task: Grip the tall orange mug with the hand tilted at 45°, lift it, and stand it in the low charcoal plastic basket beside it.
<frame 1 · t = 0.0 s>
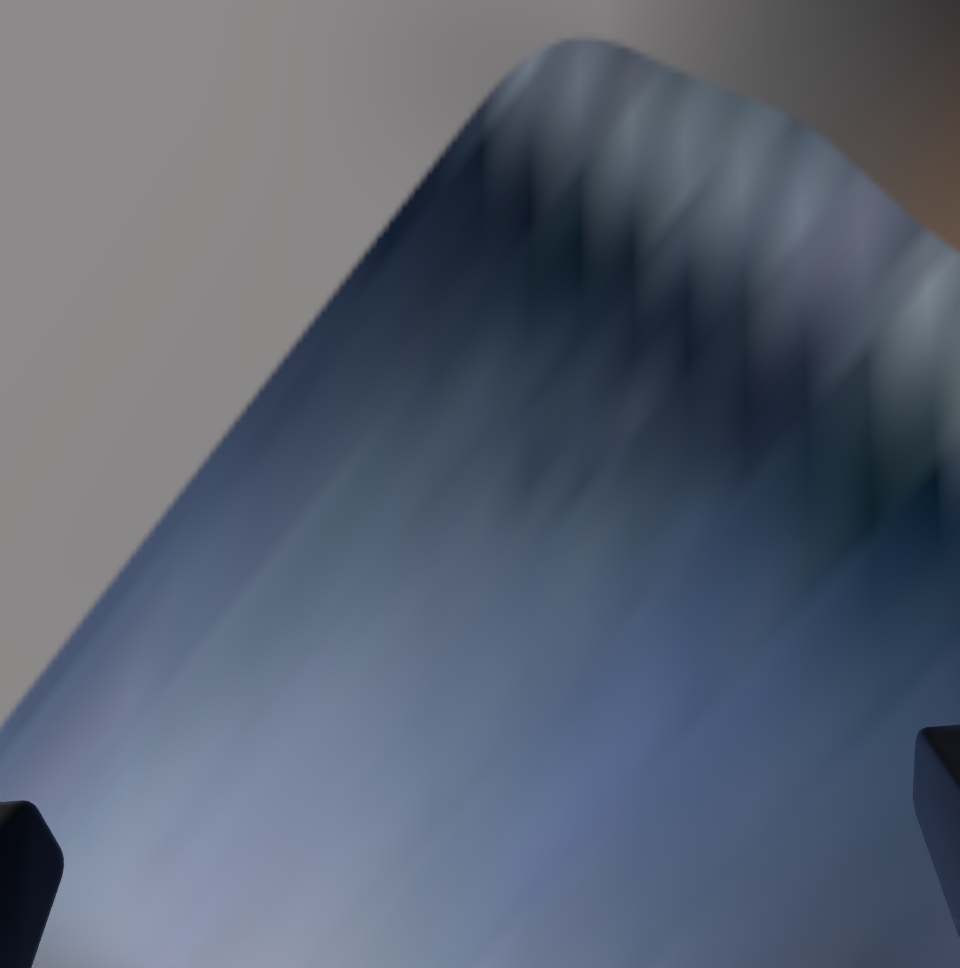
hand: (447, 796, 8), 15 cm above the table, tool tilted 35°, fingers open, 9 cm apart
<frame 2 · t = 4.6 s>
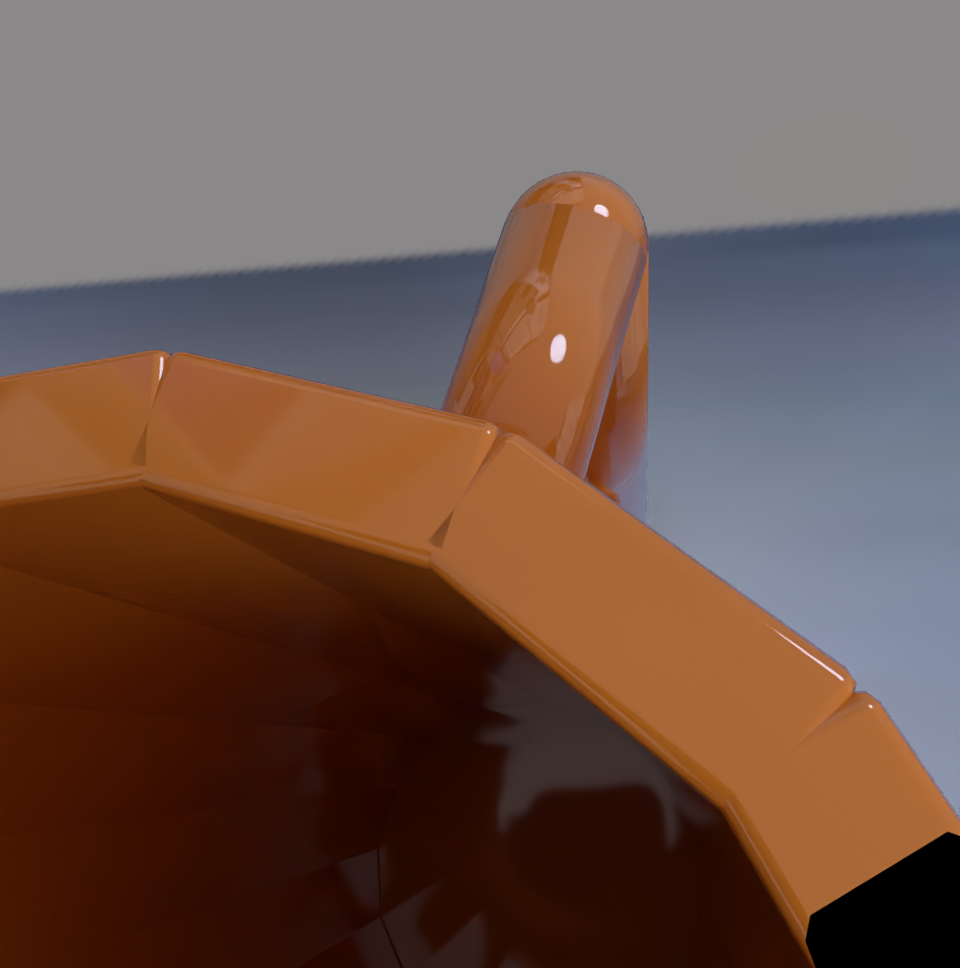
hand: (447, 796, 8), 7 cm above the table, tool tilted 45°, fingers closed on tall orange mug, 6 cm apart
tall orange mug: (538, 866, 14), on the table, touching gripper
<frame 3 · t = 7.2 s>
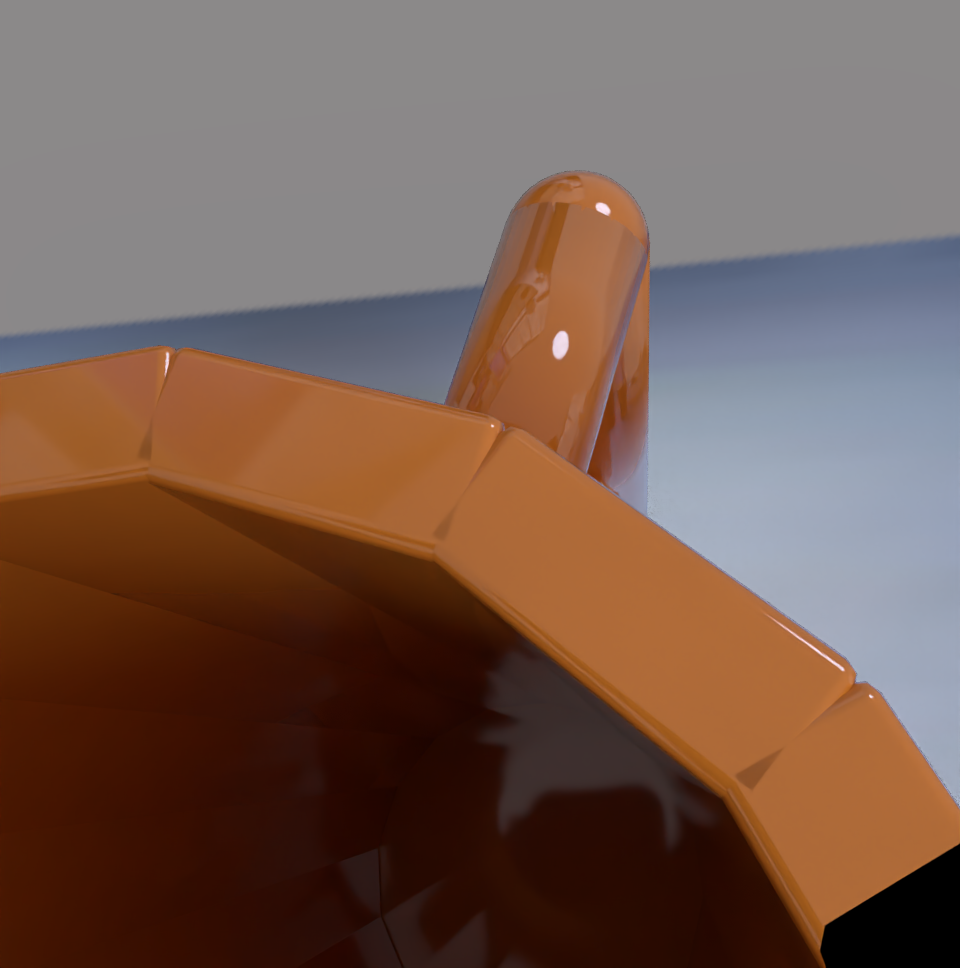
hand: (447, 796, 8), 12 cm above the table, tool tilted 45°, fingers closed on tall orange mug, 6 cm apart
tall orange mug: (538, 866, 14), point 6 cm above the table, touching gripper
when the fingers open (7 cm above the table, at t = 10.0 s): tall orange mug stays where it is, resting on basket.
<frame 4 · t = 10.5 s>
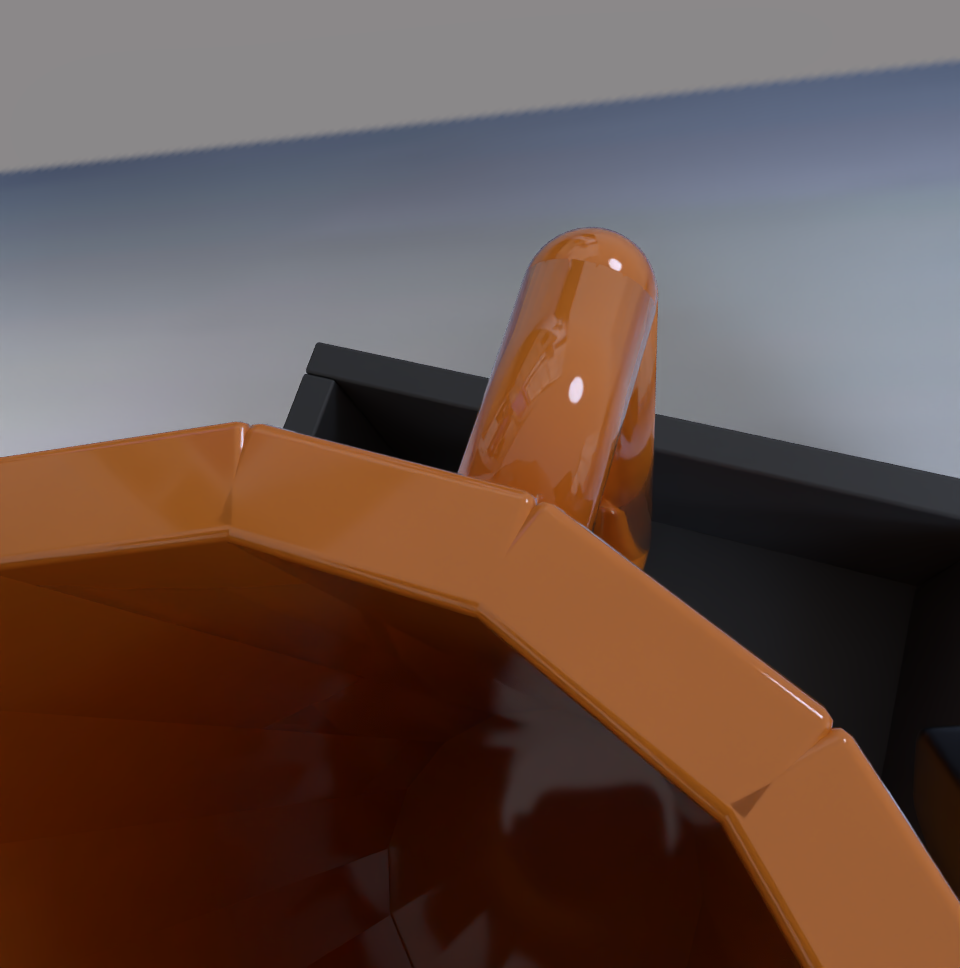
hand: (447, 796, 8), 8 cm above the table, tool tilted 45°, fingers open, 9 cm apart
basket: (562, 805, 15), on the table
tall orange mug: (543, 867, 15), point 1 cm above the table, touching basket
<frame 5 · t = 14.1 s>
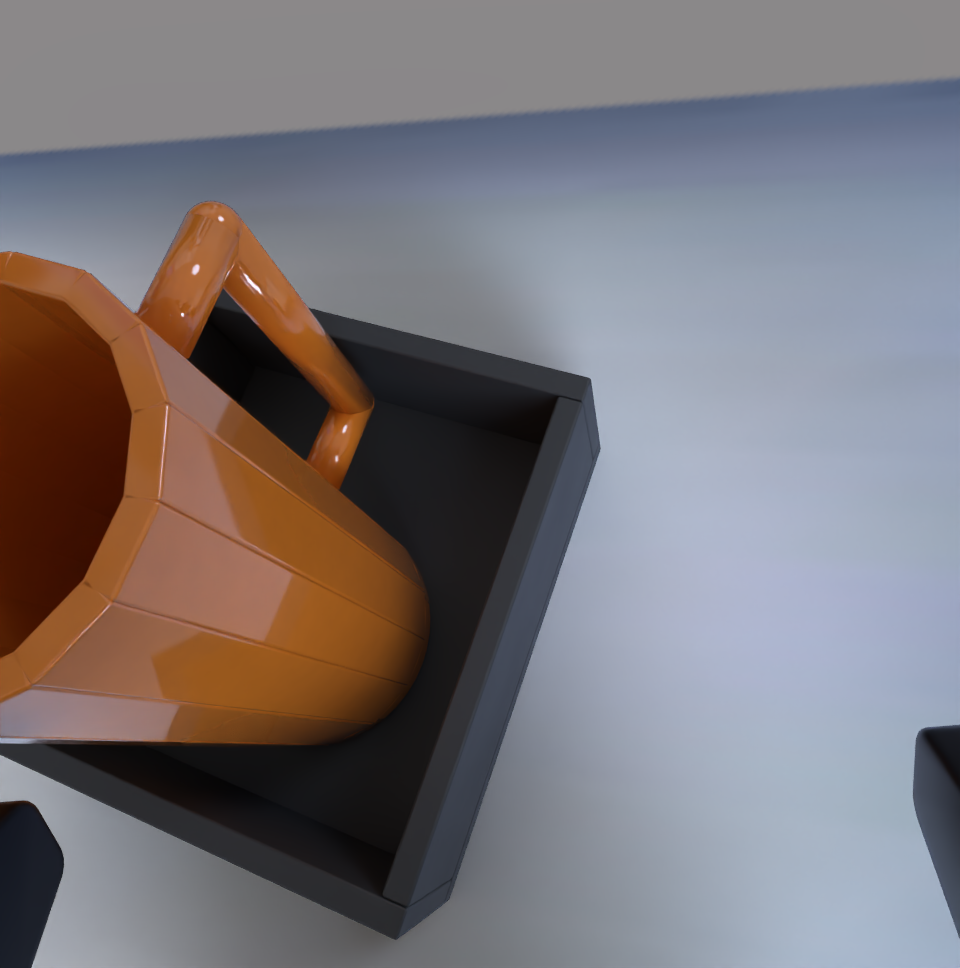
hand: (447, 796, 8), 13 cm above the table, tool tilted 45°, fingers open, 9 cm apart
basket: (340, 593, 23), on the table
tall orange mug: (318, 625, 22), point 1 cm above the table, touching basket
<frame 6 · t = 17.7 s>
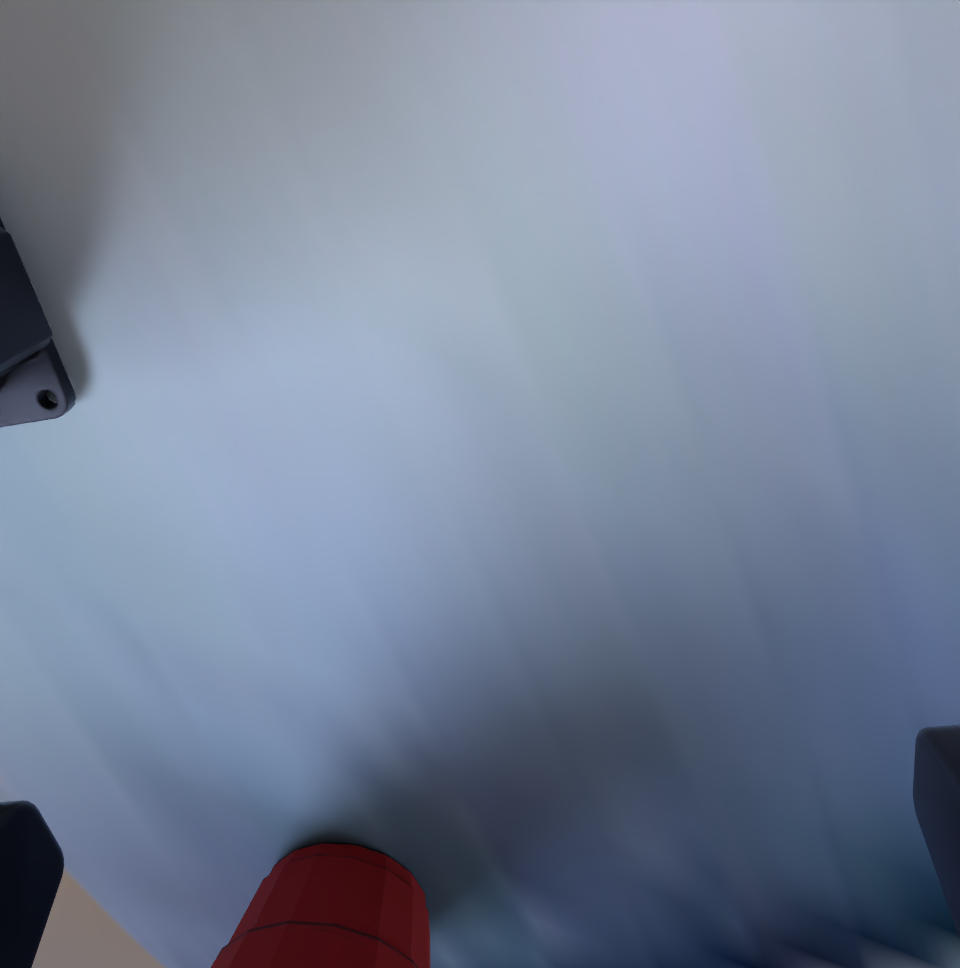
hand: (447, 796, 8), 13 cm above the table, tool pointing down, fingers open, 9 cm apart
plastic cup: (342, 890, 29), on the table
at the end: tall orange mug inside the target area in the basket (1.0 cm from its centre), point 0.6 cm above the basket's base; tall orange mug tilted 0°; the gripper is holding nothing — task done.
